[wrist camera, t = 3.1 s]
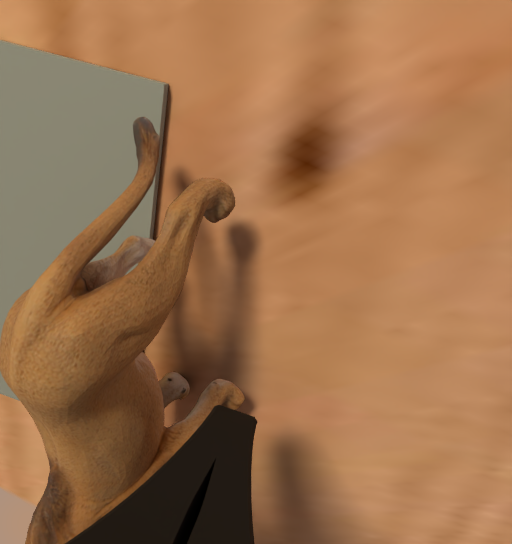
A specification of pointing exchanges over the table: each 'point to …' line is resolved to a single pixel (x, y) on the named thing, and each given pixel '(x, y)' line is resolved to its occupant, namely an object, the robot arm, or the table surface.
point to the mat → (65, 159)
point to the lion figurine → (108, 353)
